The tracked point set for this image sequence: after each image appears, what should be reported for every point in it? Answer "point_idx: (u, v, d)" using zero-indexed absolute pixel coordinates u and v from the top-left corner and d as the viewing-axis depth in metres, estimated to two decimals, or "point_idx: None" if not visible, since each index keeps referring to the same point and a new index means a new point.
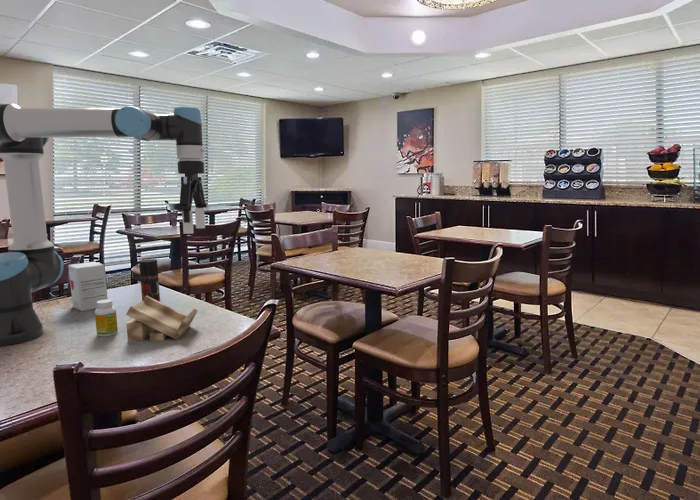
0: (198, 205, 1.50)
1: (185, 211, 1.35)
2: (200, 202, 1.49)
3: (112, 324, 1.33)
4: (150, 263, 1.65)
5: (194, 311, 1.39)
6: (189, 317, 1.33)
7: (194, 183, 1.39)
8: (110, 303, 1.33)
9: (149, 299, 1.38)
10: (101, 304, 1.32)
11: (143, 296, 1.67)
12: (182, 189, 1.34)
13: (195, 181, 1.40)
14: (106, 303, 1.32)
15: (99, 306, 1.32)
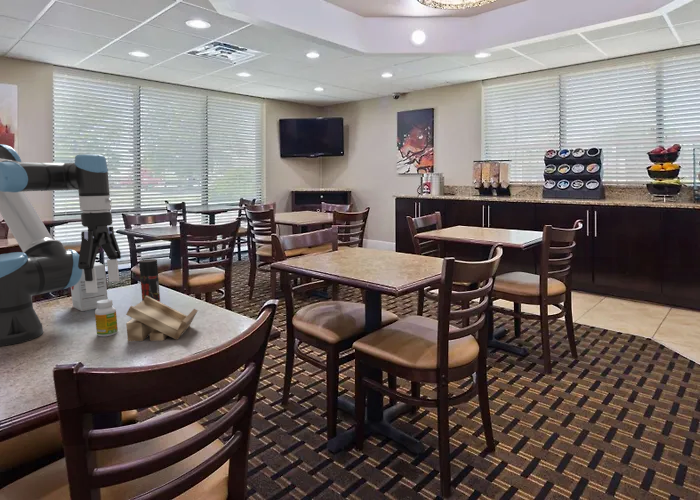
0: (111, 256, 1.39)
1: (86, 269, 1.23)
2: (112, 254, 1.37)
3: (112, 324, 1.33)
4: (150, 263, 1.65)
5: (194, 311, 1.39)
6: (189, 317, 1.33)
7: (99, 236, 1.28)
8: (110, 303, 1.33)
9: (149, 299, 1.38)
10: (101, 304, 1.32)
11: (143, 296, 1.67)
12: (82, 245, 1.23)
13: (101, 234, 1.29)
14: (106, 303, 1.32)
15: (99, 306, 1.32)
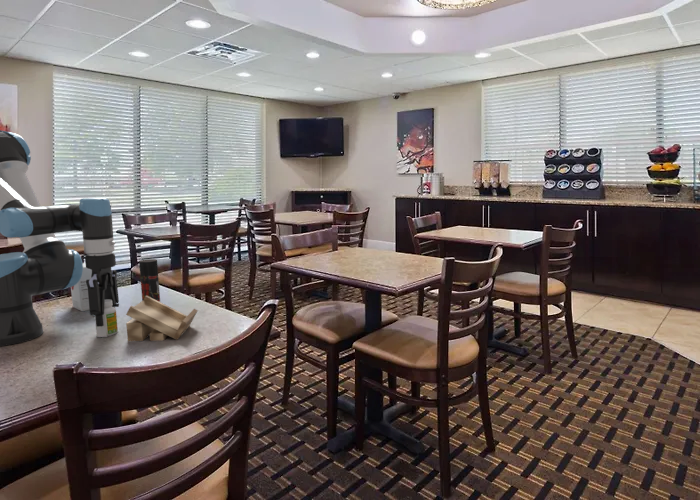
0: None
1: (97, 315, 1.29)
2: None
3: (112, 324, 1.33)
4: (150, 263, 1.65)
5: (194, 311, 1.39)
6: (189, 317, 1.33)
7: (103, 280, 1.30)
8: (110, 303, 1.33)
9: (149, 299, 1.38)
10: None
11: (143, 296, 1.67)
12: (90, 293, 1.27)
13: (104, 277, 1.30)
14: (106, 303, 1.32)
15: None
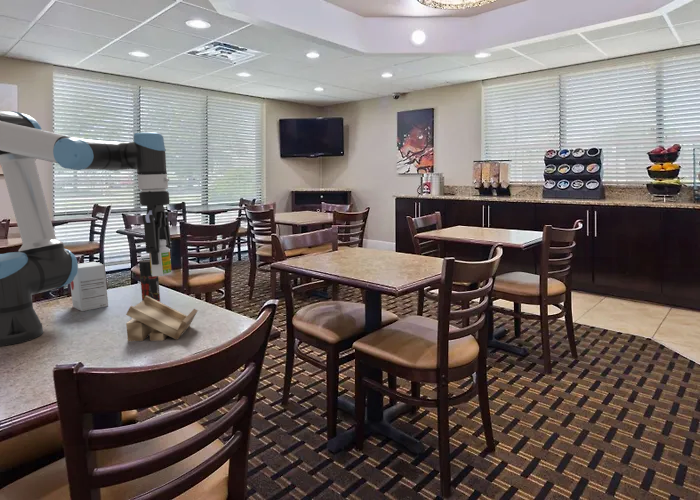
0: None
1: (153, 253, 1.26)
2: None
3: (166, 264, 1.30)
4: None
5: (194, 311, 1.39)
6: (189, 317, 1.33)
7: (158, 217, 1.27)
8: (164, 242, 1.30)
9: (149, 299, 1.38)
10: None
11: (143, 296, 1.67)
12: (146, 229, 1.24)
13: (159, 214, 1.28)
14: (161, 241, 1.29)
15: None
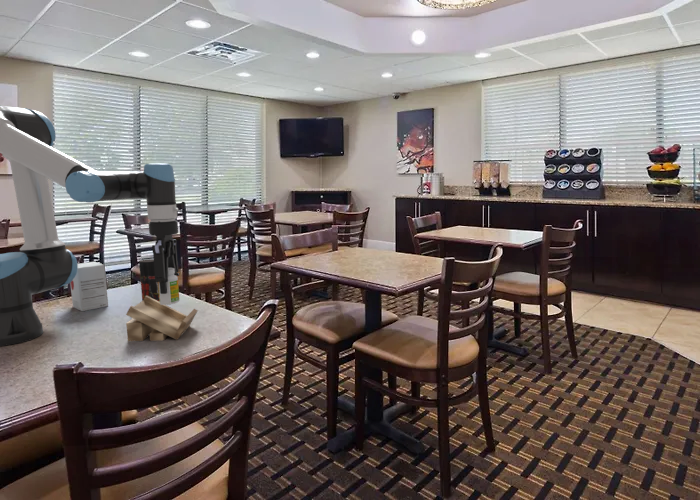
0: None
1: (161, 282, 1.28)
2: None
3: (174, 292, 1.32)
4: (150, 263, 1.65)
5: (194, 311, 1.39)
6: (189, 317, 1.33)
7: (167, 247, 1.29)
8: (173, 271, 1.32)
9: (149, 299, 1.38)
10: None
11: (143, 296, 1.67)
12: (155, 260, 1.25)
13: (168, 244, 1.29)
14: (169, 270, 1.31)
15: None
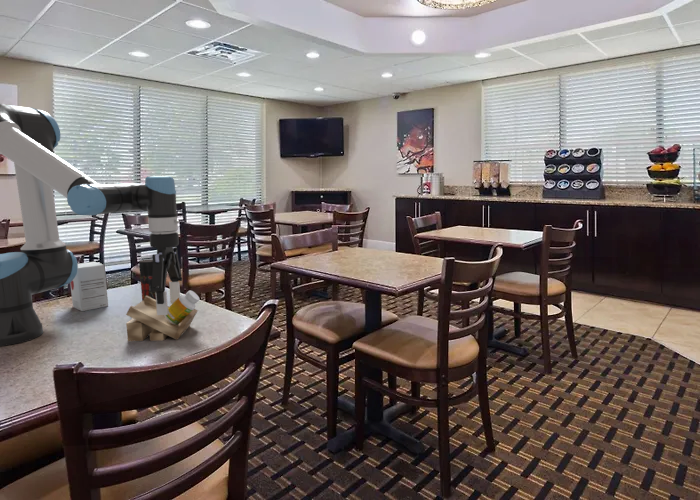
0: (173, 278, 1.39)
1: (158, 292, 1.25)
2: (175, 275, 1.38)
3: (182, 317, 1.33)
4: (150, 263, 1.65)
5: (194, 311, 1.39)
6: (189, 317, 1.33)
7: (168, 258, 1.29)
8: (197, 301, 1.34)
9: (149, 299, 1.38)
10: (191, 297, 1.32)
11: (143, 296, 1.67)
12: (154, 269, 1.25)
13: (169, 255, 1.30)
14: (195, 299, 1.33)
15: (188, 297, 1.32)
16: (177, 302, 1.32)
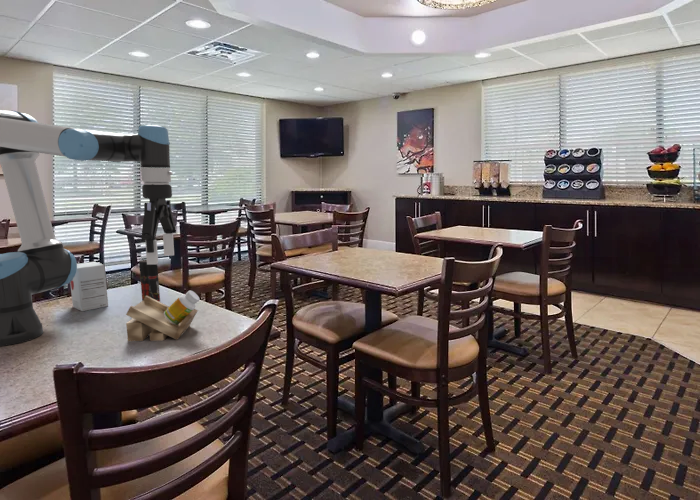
0: (167, 230, 1.38)
1: (148, 240, 1.23)
2: (169, 227, 1.37)
3: (182, 317, 1.33)
4: None
5: (194, 311, 1.39)
6: (189, 317, 1.33)
7: (160, 209, 1.28)
8: (197, 301, 1.34)
9: (149, 299, 1.38)
10: (191, 297, 1.32)
11: (143, 296, 1.67)
12: (145, 216, 1.23)
13: (161, 206, 1.28)
14: (195, 299, 1.33)
15: (188, 297, 1.32)
16: (177, 302, 1.32)
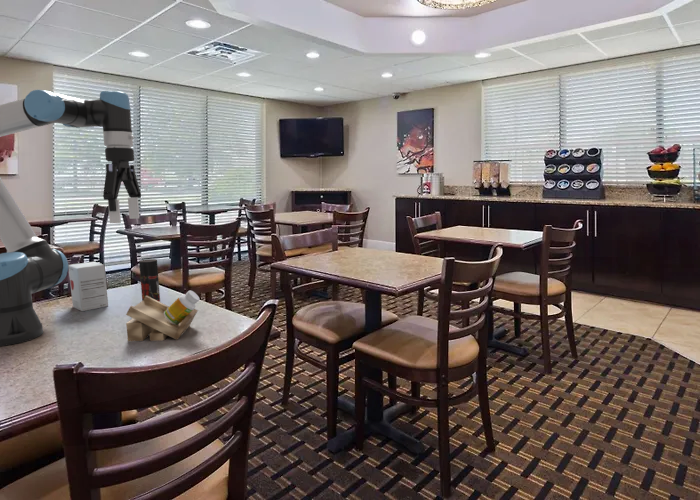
0: (131, 194, 1.45)
1: (110, 199, 1.30)
2: (133, 191, 1.44)
3: (182, 317, 1.33)
4: (150, 263, 1.65)
5: (194, 311, 1.39)
6: (189, 317, 1.33)
7: (122, 171, 1.34)
8: (197, 301, 1.34)
9: (149, 299, 1.38)
10: (191, 297, 1.32)
11: (143, 296, 1.67)
12: (107, 177, 1.29)
13: (123, 169, 1.35)
14: (195, 299, 1.33)
15: (188, 297, 1.32)
16: (177, 302, 1.32)
